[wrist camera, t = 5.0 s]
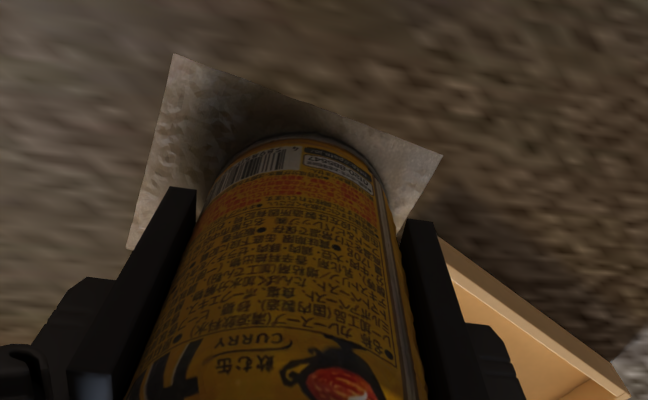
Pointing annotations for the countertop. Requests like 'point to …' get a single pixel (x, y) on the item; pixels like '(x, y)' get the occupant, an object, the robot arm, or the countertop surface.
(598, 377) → the tray
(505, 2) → the countertop surface
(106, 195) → the countertop surface
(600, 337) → the countertop surface
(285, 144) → the condiment
